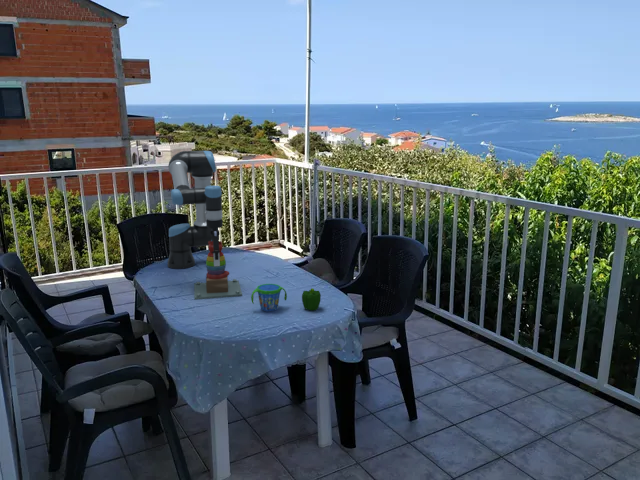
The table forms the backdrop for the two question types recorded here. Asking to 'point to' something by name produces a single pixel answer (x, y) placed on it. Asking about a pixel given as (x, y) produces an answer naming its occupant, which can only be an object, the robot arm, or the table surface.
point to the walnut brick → (217, 285)
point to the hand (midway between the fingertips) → (216, 262)
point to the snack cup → (268, 296)
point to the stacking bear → (212, 270)
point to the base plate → (201, 293)
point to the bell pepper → (311, 299)
